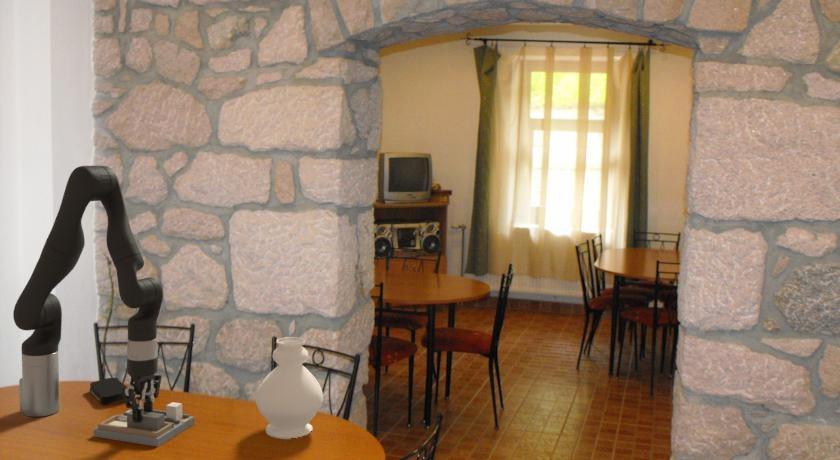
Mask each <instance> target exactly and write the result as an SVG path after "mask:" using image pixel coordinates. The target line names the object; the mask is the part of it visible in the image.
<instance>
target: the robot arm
mask: <svg viewBox="0 0 840 460" xmlns="http://www.w3.org/2000/svg"><path fill="white" fill-rule="evenodd" d="M91 202H101V204H102V206H103V208H104V210H105V212H106V217H107V228H106V230H107V231H106V238H105V239H106V247H107V250H108V253H109V256H110V259H111V261H112V262H113V265H114V267H115V270H116V278H117V286H118V293H119V297H120V300H121V301H122V303H123V304H124V305H125V306H126V307H128V308H129V309H138V310H137V312H136V313H135V314H134V315H132V316H130V317H129V318H128V321H127V345H126V372H127V373H126V374H128V375H129V377H130V380H129V381H130V382H129V385H128V386H127V387H128V388H123V390H122V392H123V396H124V404H125V408H127V409H130V410H131V409H132V415H133V416H132V420H133V422H135V423H140V422H141V421H142V409H141V408H144V411H147V412H153V409H154V402H155V399H158V398H159V395H160V388H161V383H162V379H163V377H162V375H161V374H160V375H159V374H157V373H158V370H159V367H158V366H159V365H158V364H159V363H158V362H159V361H158V360H159V359H158V357H159V354H158V353H159V351H158V350H159V349H158V347H159V345H158V337H157V336H158V335H157V333H158V332H157V327H158V326H157V325H158V319H159V315H160V311H161V307H162V303H163V298H164V289H163V286H162V283H161V282H160V281H159V280H158V279H156V278H155V277H144V278H140V279H139V278H138V277H137V272H139V271H140V270H142V269H143V267H145V260H144V257H143V255H142V254H141V251H140V249H139V246H138V244H137V241H136V239H135V236H134V233H133V231H132V229H131V224H130V222H129V217H128V213H127V209H126V204H125V200H124V196H123V192H122V188H121V185H120V181H119V179H118V176H117V174H116V172H115V171H114V169H113V168H111V167H109V166H107V165H80V166H78V167H75V168H74V169H73V171H71V173H70V175H69V177H68V180H67V182H66V185H65V190H64V192H63V195H62V199H61V203H60V206H59V209H58V211H57V213H56V217H55V219H54V221H53V225H52V227H51V230H50V232H49V234H48V235H47V236H48V237H47V238H46V240H45V241H44V242H45V243H44V245H43V247H42V250H41V253H40V255H39V258H38V260H37V262H36V264H35V267H33V270H32V273H31V276H30V278H29V279H28V281H27V283H26V285H25V287H24V288H23V290H22V292H21V293H20V295H19V297H17V298H18V299H17V300H16V303H15V305H14V309H13V315H12V316H13V321H14V324H15V326H16V327H17V328H18V329H20V330H22V331H33V332H32V334H30V335H29V336H28V337H27V338H26V339H25V340H24V341H23V342H22V344H21V372H22V373H21V375H22V376H21V377H22V378H20V379H19V381H18V383H19V384H18V386H19V413H21V414H23V415H25V416H26V417H46V416H50V415H53V414H56V413H57V412H60V369H59V368H60V364H59V358H60V357H59V345H60V342H61V340H62V339H61V338H62V321H63V319H62V318H63V313H62V312H63V311H62V305H61V302H60V299H58V297H57V296H56V295H55V294H54V293H52V292H53V290H54V289H55V288H56V287H57V286H58V285H59V284H60V283H61V282H62V281H63V280H64V279H66V278H67V276H69V274H71V272H72V271H73V270H74V269H75V267H76V265H77V264H78V261H79V259H80V258H81V255H82V253H83V250H84V247H85V234H84V230H83V225H82V220H83V216H84V214H85V212H86V208H87V207H88V206H89V204H90V203H91ZM143 401H144V402H143ZM142 406H143V407H142Z"/></svg>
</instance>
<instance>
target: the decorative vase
mask: <svg viewBox="0 0 840 460" xmlns="http://www.w3.org/2000/svg"><path fill="white" fill-rule="evenodd" d="M305 344H306V340H305V339H304V338H303V337H299V336H298V337H297V336H286V337H280V338H278V339H276V345H278V347H276V348H275V349H274V350H273V352H272V359H273V361H274V362H275V363H276V364H277V366H275V367H274V368H273V370H271V371H270V372H269V373H268V374H267V375H266V377H264V379H263V381H261V384H260V385H259V387H258V389H257V392H256V394H255V403H256V406H257V409H258V411H259V412H260V413H261V415H262V416H263V417H264V418H265V420H266V421H267V422H268V423H269V424H268V425H266V427H265V433H266V434H267V435H268V436H269V437H271V438H275V439H280V440H292V439H291V438H296V439H298V438H297V437H301V438H303V437H302V436H304V435H307V434H309V433H310V432H311V431H312V432H313V425H311V424H310V422H311V420H312V419H313V418H314V417H315V416H316V415H317V413H318V412H319V410H320V409H321V407H322V405H323V402H324V393H323V389H322V387H321V385H320V383H319V382H318V380H317V378H316V377H315V376H314V374H313V373H312V372H311V371H310V370H308V369H307V368H306V367H305V365H303V364H305V362H306V361H307V360H308V358H309V352H308V350H307V349H306V348H305V347H304V345H305ZM312 432H311V433H312ZM311 433H310V434H311ZM310 434H309V435H310ZM307 436H308V435H307Z"/></svg>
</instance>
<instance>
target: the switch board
mask: <svg viewBox="0 0 840 460" xmlns="http://www.w3.org/2000/svg"><path fill="white" fill-rule="evenodd" d="M141 409H142V411H144V407H141ZM131 411H132V409H131V408H130V409H128V410H126V411H124V412H123V413H122V414H120V415H121V416H127V413H129V412H131ZM153 412H154V413H161V414H164V417H165V427H163V428H162V429H160V430H158V431H157V432H155V431H148V430H142V429H136V428H129V427H127V420H121V419H117V418H116V417H117V415H118V414H114V415H112V416H110V417H109V418H107V419H105V420H103V421H101V422H99V423H97V426H96V427H95V428H94V429H93V436H94V437H95V438H102V439H103V438H104V439H108V440H114V441H119V442H120V441H121V442H128V443H133V444H140V445H145V446H151V447H160V446H162V445H164V443H167V442H168V441H169V440H171V439H173V438H174V437H176V436H177V435H179V434H180V433H182V432H184V431H185V430H186V429H188V428H190V427H192V426H193V425H195V416H192V415H190V414H189V413H182V418H181V419H179V420H177V419H170V418H166V410H160V409H154V408H153Z"/></svg>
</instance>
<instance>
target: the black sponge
mask: <svg viewBox="0 0 840 460" xmlns="http://www.w3.org/2000/svg"><path fill="white" fill-rule="evenodd" d="M128 387H129V386H127V385H125V384H124V383H123V382H122V381H121V380H120V379H118V377H108V378H107V377H106V378H103V379H100V380H95V381H92V382H90V383H89V393H90V394H92V395H93V396H94V397H95V399H97V400H98V401H99V404H100V405H101V406H109V405H112V404H115V403H116V404H117V403H120V402H125V400H124V396H123V392H122V390H123V388H128Z"/></svg>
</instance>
